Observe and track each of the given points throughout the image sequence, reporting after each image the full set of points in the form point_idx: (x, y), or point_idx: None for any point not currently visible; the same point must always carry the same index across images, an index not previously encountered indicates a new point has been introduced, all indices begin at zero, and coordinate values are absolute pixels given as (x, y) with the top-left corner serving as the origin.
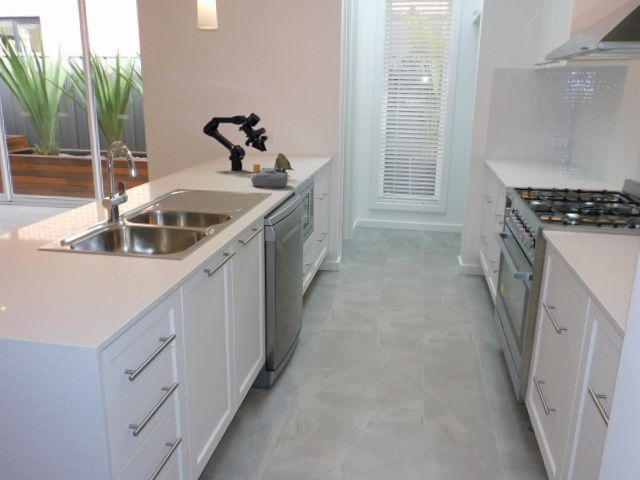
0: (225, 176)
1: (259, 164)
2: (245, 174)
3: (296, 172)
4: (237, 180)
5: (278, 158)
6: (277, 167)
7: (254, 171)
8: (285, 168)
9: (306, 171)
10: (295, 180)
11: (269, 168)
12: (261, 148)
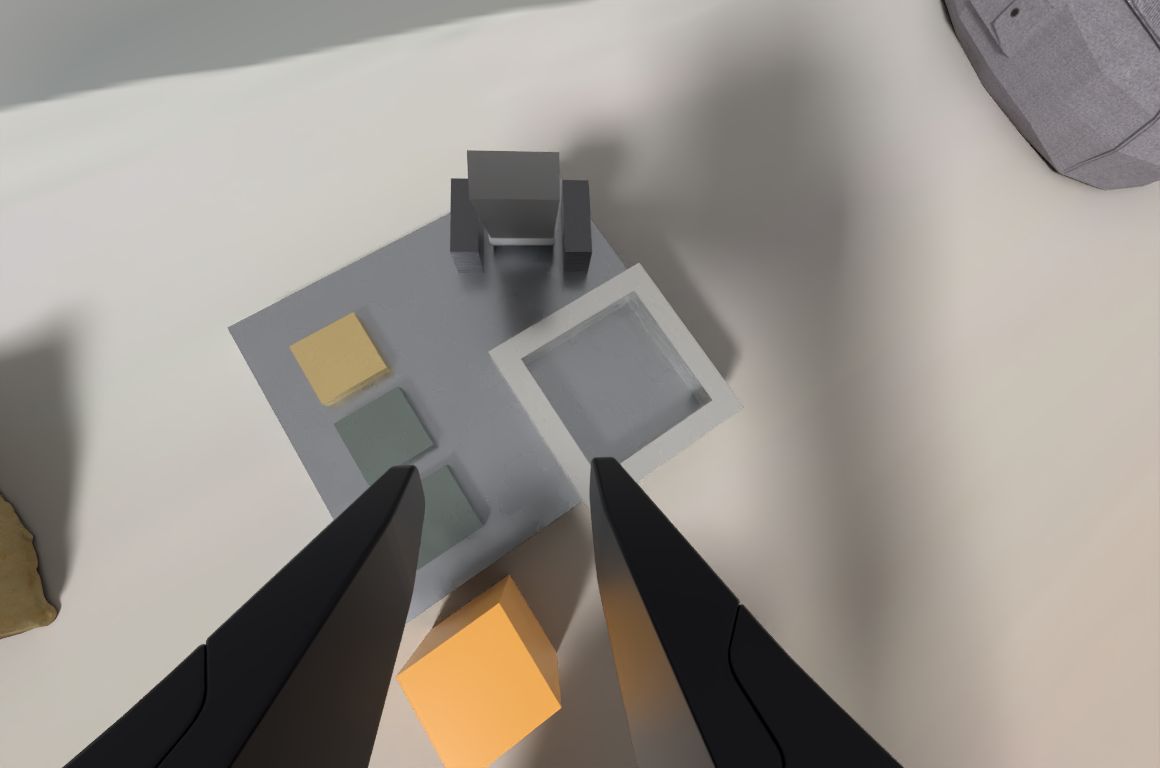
0: (1058, 711)
1: (501, 607)
2: (776, 610)
3: (238, 205)
4: (1108, 425)
5: (512, 152)
6: (13, 578)
7: (549, 641)
8: (461, 180)
9: (89, 148)
10: (705, 17)
11: (538, 386)
12: (674, 528)
